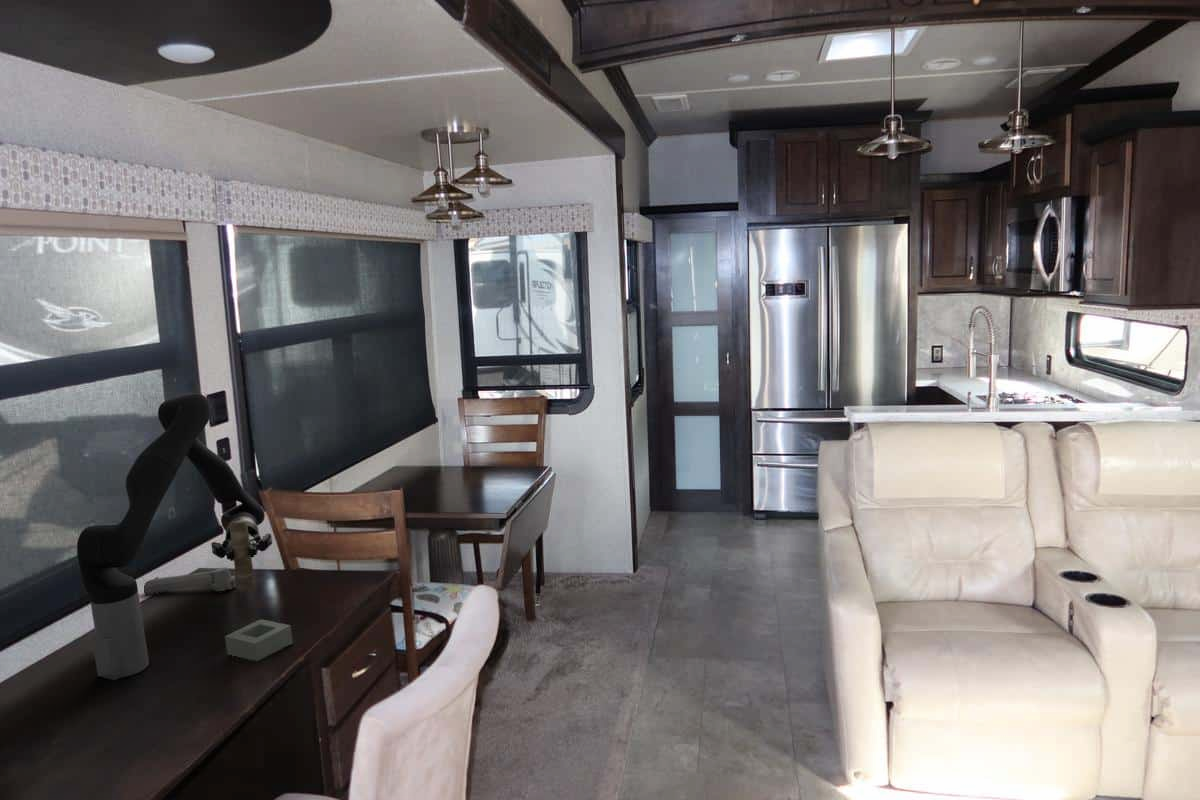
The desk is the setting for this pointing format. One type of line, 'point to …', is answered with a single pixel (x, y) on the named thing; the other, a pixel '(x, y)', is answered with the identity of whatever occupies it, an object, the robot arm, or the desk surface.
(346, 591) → the desk surface
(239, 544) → the peg
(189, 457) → the robot arm
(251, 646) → the socket
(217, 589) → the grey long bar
